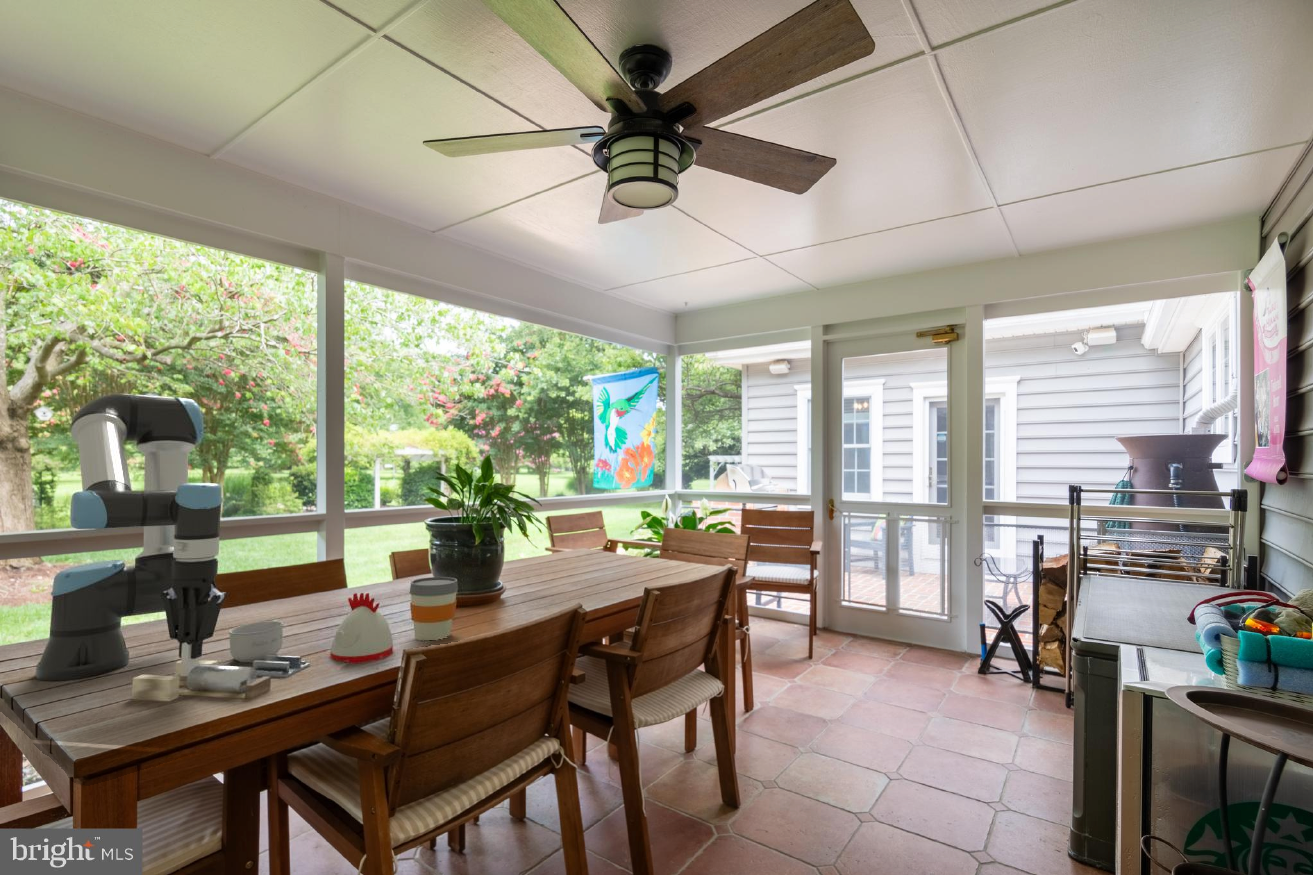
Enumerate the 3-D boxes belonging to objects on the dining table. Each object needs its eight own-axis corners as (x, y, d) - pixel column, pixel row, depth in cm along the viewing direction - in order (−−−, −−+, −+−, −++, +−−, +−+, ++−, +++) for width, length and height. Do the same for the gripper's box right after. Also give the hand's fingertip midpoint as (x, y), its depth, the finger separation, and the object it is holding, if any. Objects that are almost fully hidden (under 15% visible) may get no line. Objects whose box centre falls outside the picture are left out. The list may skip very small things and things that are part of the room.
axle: (184, 693, 120) (188, 667, 121) (205, 687, 125) (208, 662, 126) (236, 696, 119) (239, 670, 120) (254, 690, 124) (258, 664, 125)
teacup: (255, 669, 137) (256, 633, 137) (215, 665, 139) (217, 630, 139) (302, 650, 151) (304, 618, 151) (265, 647, 153) (267, 615, 153)
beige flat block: (131, 701, 118) (132, 678, 118) (182, 680, 129) (183, 659, 129) (239, 707, 116) (240, 683, 116) (281, 685, 127) (282, 664, 127)
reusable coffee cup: (448, 627, 174) (450, 575, 174) (463, 638, 164) (464, 582, 164) (402, 634, 166) (404, 579, 167) (415, 645, 156) (417, 587, 157)
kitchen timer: (355, 644, 157) (358, 586, 158) (403, 647, 154) (406, 588, 155) (317, 661, 143) (319, 597, 144) (369, 665, 141) (371, 600, 141)
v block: (242, 677, 131) (243, 663, 132) (269, 665, 139) (269, 652, 139) (285, 679, 130) (286, 665, 131) (309, 667, 138) (310, 654, 139)
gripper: (149, 559, 121) (142, 678, 120) (210, 563, 120) (203, 682, 119) (182, 553, 128) (175, 665, 128) (239, 556, 127) (233, 669, 127)
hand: (189, 673), depth 123 cm, fingers closed
